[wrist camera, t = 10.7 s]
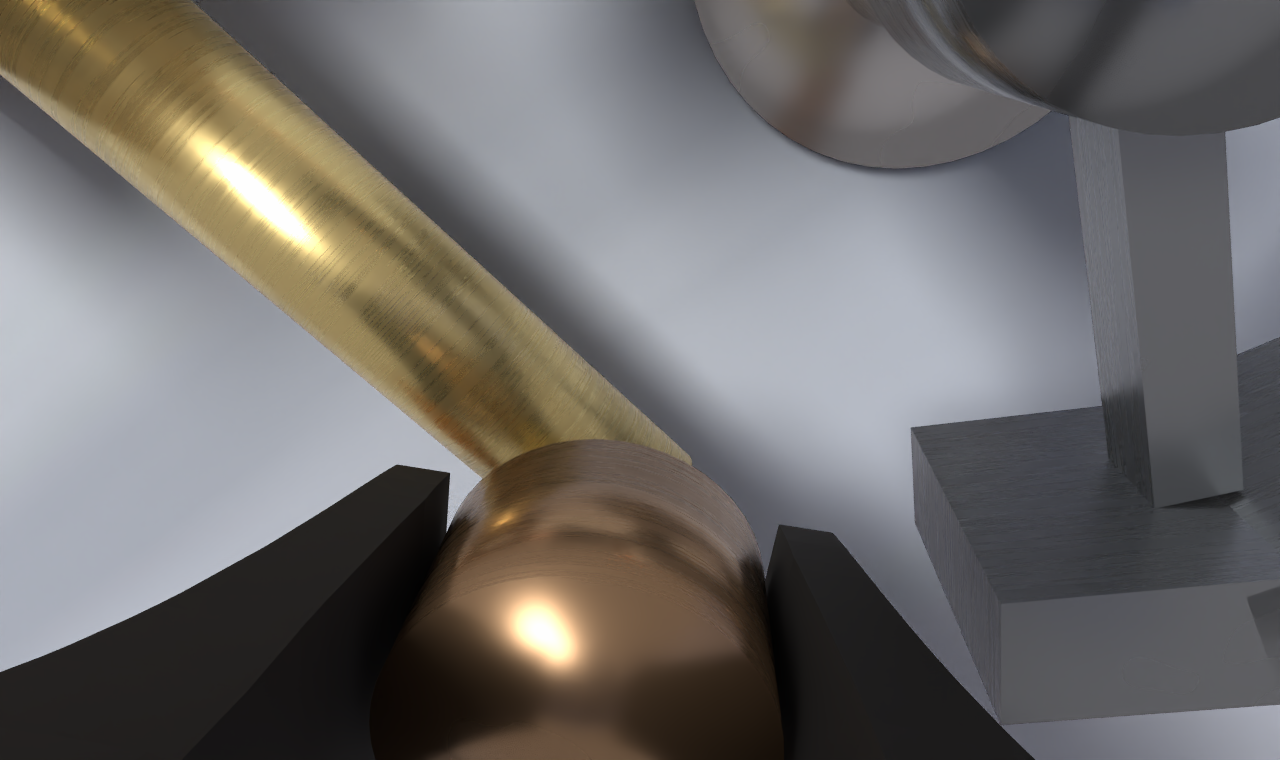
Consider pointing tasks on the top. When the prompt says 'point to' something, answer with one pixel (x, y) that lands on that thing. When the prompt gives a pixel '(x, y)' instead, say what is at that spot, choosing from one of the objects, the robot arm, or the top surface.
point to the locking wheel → (1121, 378)
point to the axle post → (852, 84)
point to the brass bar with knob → (444, 416)
